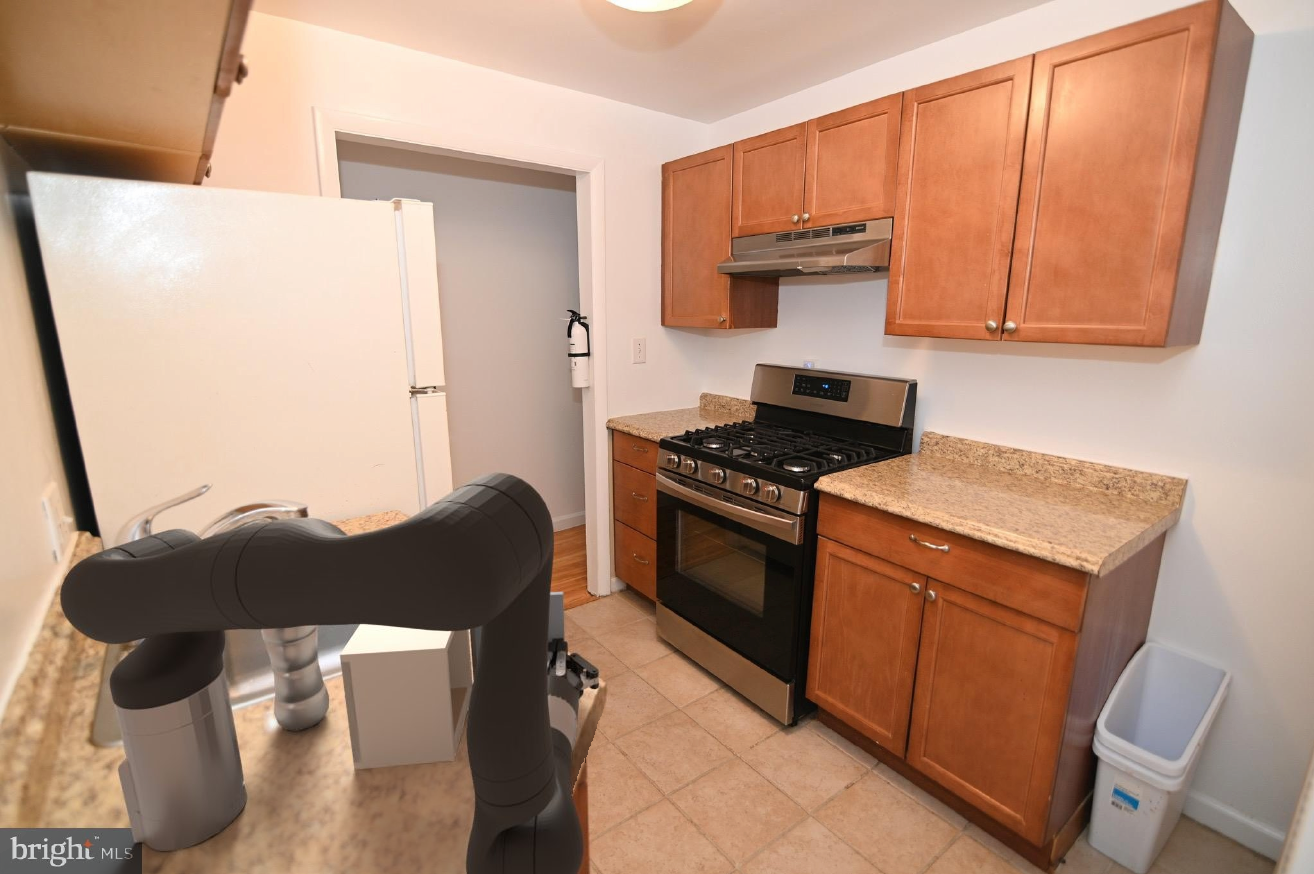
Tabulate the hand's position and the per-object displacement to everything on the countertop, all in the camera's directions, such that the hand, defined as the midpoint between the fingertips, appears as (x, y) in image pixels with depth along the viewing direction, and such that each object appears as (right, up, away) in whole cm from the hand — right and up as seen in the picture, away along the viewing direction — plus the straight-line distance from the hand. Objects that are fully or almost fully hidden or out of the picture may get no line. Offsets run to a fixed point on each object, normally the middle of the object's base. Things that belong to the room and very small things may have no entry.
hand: (558, 643), depth 88 cm
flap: (-6, -6, +1) cm, 9 cm away
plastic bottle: (-34, -9, -6) cm, 36 cm away
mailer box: (-18, -9, -6) cm, 21 cm away
